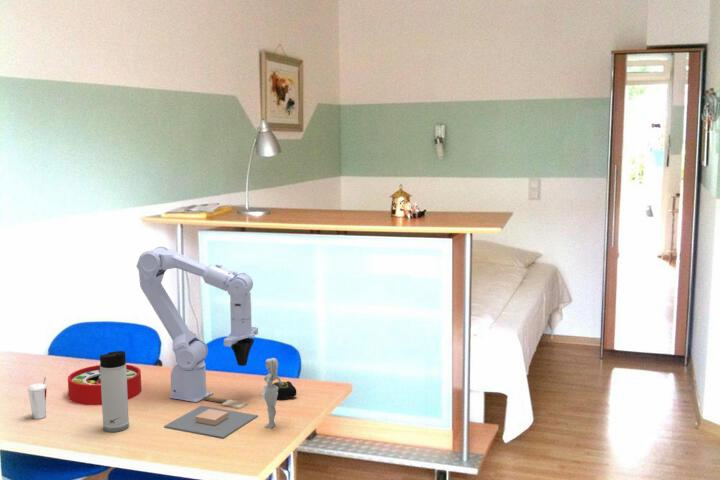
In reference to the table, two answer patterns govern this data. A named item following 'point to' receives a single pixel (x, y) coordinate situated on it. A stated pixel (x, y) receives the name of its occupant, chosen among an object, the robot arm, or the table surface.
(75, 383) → the toy clock
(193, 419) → the mat
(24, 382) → the table surface
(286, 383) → the tape measure
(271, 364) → the human figurine
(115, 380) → the travel mug
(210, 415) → the tile
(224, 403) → the turner
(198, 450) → the table surface
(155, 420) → the table surface
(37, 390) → the milkshake
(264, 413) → the table surface
